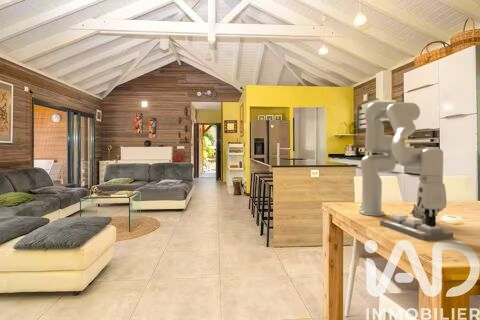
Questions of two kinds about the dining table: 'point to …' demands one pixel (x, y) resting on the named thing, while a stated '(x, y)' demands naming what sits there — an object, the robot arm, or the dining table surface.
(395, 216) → the button
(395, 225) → the button board
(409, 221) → the middle button
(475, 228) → the dining table surface
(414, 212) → the game die
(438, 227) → the button
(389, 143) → the robot arm
